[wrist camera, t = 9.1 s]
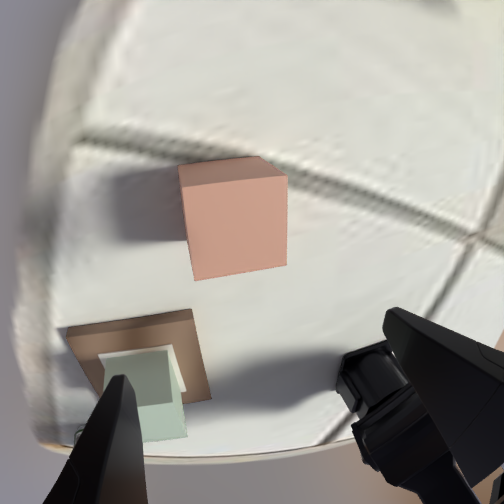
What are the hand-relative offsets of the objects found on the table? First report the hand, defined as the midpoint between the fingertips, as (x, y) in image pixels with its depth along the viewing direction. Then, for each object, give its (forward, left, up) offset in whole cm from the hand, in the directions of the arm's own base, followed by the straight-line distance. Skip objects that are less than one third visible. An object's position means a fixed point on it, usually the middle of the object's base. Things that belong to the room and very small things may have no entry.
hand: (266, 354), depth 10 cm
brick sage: (+7, +12, -11) cm, 18 cm away
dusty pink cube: (-1, -1, -12) cm, 12 cm away
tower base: (+7, +12, -12) cm, 19 cm away
